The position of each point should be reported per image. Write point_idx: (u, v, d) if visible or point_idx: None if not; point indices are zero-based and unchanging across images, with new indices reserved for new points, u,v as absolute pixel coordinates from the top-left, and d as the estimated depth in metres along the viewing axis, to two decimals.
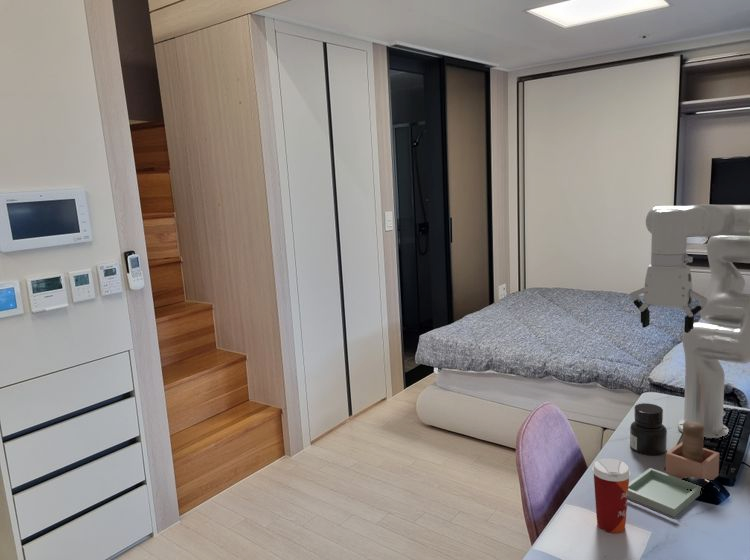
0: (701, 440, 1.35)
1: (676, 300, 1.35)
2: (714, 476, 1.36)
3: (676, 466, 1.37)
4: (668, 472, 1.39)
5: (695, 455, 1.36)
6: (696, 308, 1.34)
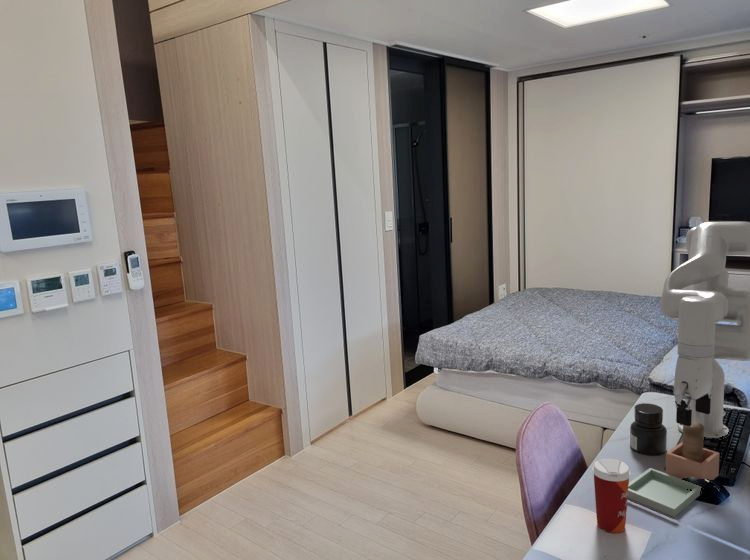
0: (701, 440, 1.35)
1: (709, 386, 1.34)
2: (714, 476, 1.36)
3: (676, 466, 1.37)
4: (668, 472, 1.39)
5: (695, 455, 1.36)
6: None
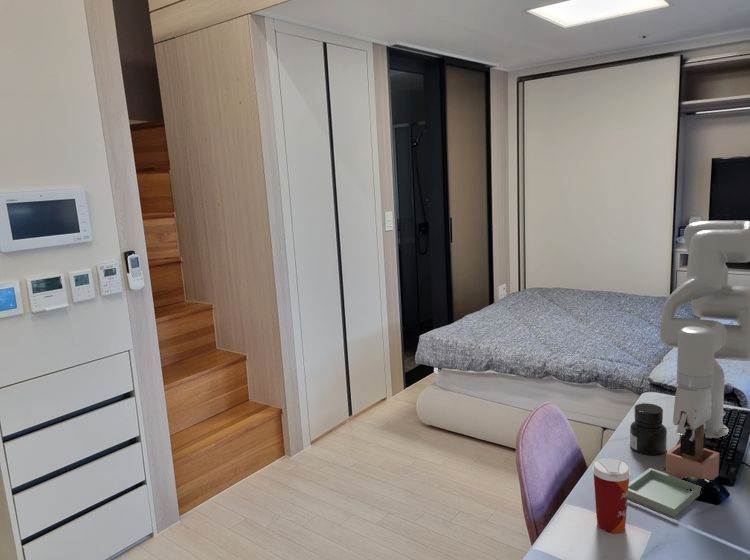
0: (701, 440, 1.35)
1: (708, 414, 1.36)
2: (714, 476, 1.36)
3: (676, 466, 1.37)
4: (668, 472, 1.39)
5: (695, 455, 1.36)
6: (705, 422, 1.38)
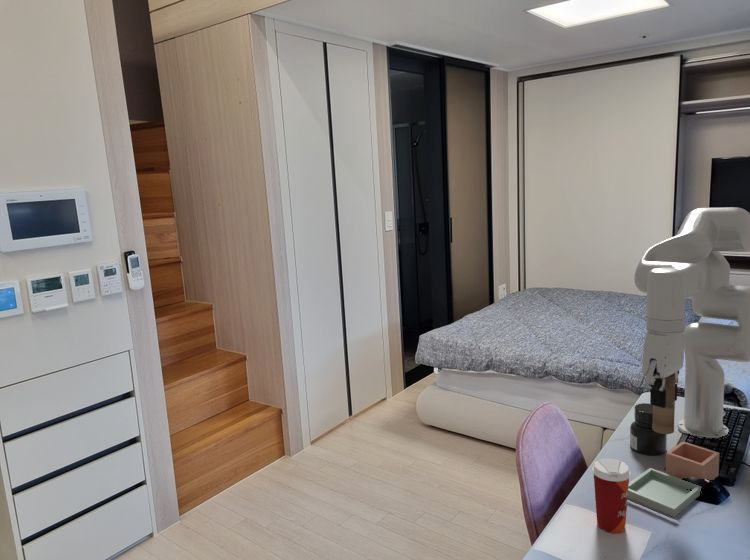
0: (672, 390, 1.25)
1: (680, 363, 1.26)
2: (714, 476, 1.36)
3: (676, 466, 1.37)
4: (668, 472, 1.39)
5: (666, 407, 1.26)
6: (677, 372, 1.29)
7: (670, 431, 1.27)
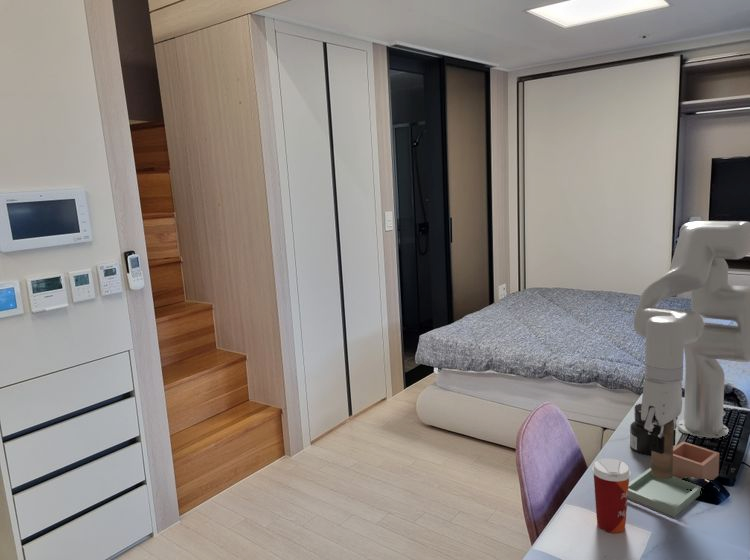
0: (671, 437, 1.27)
1: (678, 409, 1.28)
2: (714, 476, 1.36)
3: (676, 466, 1.37)
4: None
5: (664, 453, 1.28)
6: (675, 418, 1.31)
7: (668, 476, 1.29)
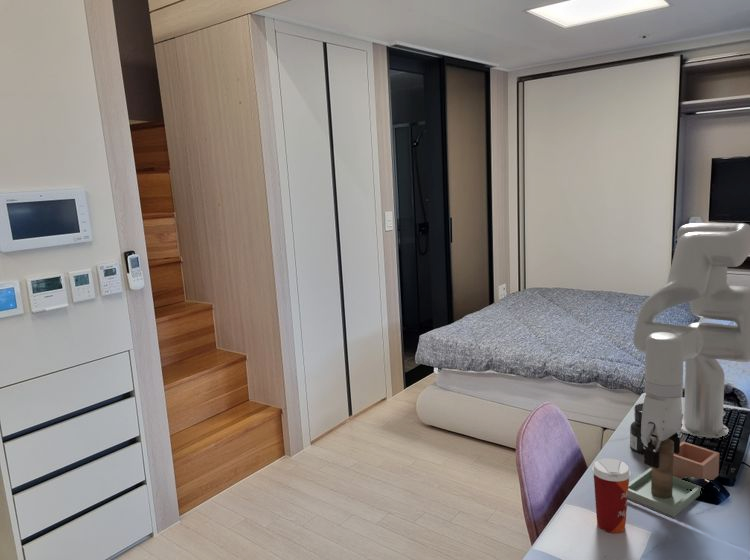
0: (671, 457, 1.28)
1: (678, 425, 1.29)
2: (714, 476, 1.36)
3: (676, 466, 1.37)
4: None
5: (664, 473, 1.29)
6: None
7: (668, 496, 1.30)
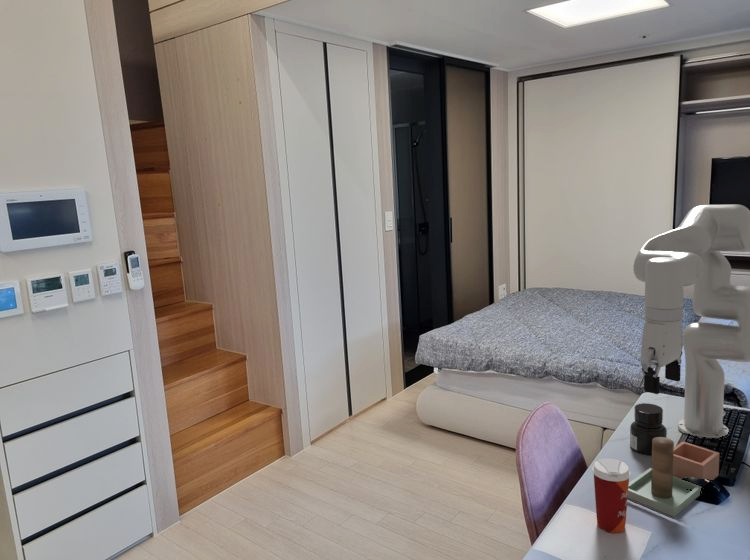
0: (671, 457, 1.28)
1: (678, 351, 1.27)
2: (714, 476, 1.36)
3: (676, 466, 1.37)
4: None
5: (664, 473, 1.29)
6: (680, 353, 1.31)
7: (668, 496, 1.30)
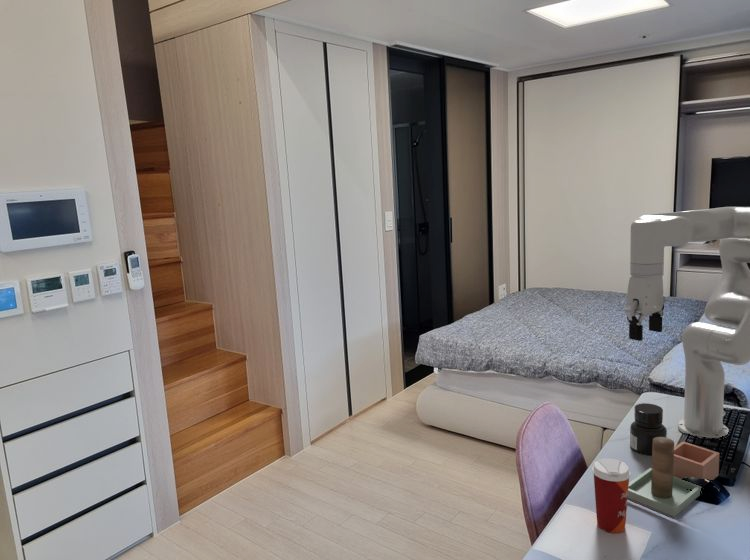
0: (671, 457, 1.28)
1: (660, 304, 1.43)
2: (714, 476, 1.36)
3: (676, 466, 1.37)
4: None
5: (665, 473, 1.29)
6: (662, 307, 1.46)
7: (668, 496, 1.30)
